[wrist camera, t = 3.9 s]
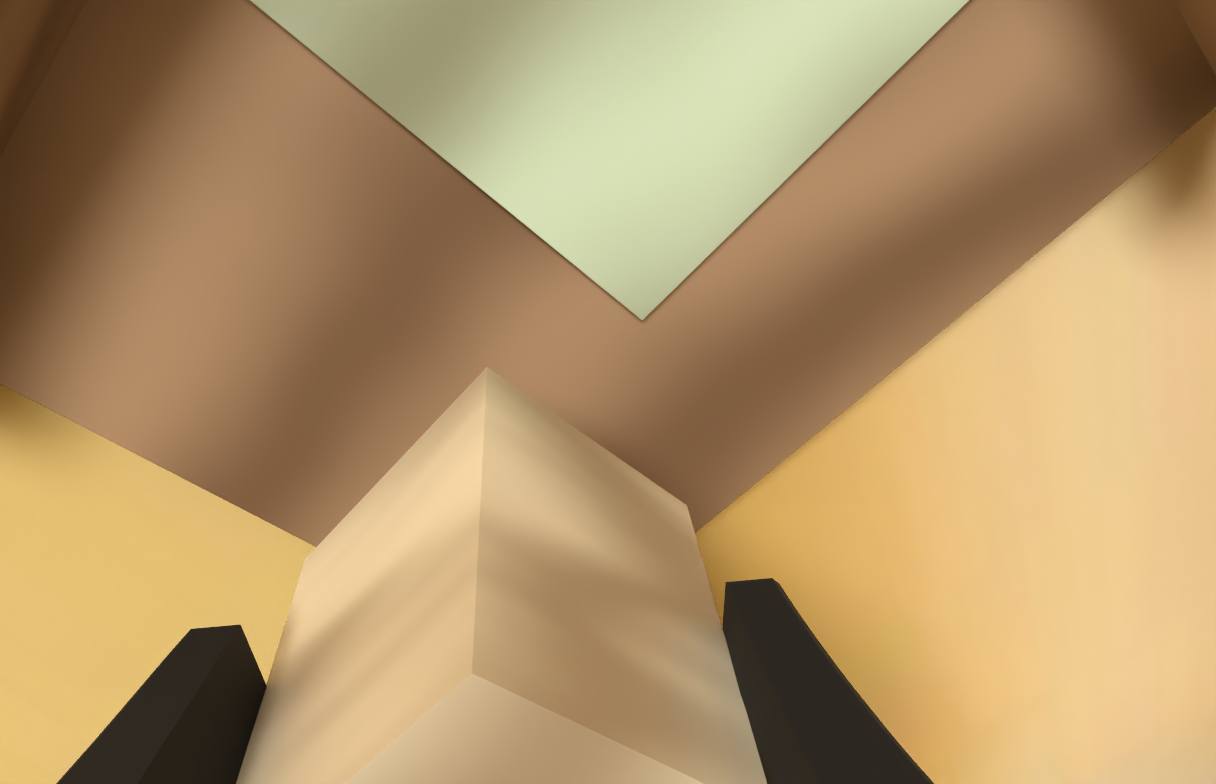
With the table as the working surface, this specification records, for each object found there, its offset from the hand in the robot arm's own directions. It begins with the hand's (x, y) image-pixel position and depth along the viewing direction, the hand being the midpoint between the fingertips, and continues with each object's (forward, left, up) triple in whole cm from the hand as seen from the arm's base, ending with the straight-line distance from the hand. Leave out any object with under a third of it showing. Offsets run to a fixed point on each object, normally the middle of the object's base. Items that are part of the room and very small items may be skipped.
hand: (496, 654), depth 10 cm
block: (0, 0, -2) cm, 2 cm away
